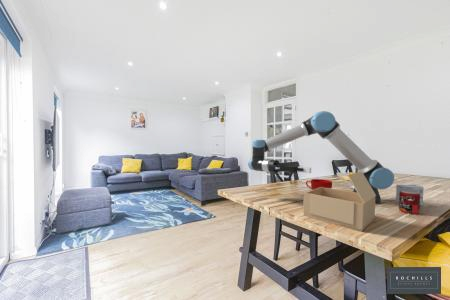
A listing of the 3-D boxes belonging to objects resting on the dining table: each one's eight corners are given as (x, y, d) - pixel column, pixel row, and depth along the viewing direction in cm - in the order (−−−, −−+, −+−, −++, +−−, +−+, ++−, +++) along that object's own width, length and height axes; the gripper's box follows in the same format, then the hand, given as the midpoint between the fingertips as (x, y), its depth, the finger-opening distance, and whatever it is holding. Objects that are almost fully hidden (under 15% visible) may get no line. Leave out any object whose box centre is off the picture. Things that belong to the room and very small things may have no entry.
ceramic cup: (310, 191, 151) (310, 177, 150) (335, 196, 138) (335, 181, 138) (301, 194, 142) (301, 179, 142) (327, 199, 129) (327, 183, 129)
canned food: (394, 209, 110) (395, 189, 110) (408, 209, 111) (409, 189, 111) (408, 214, 103) (409, 192, 102) (423, 214, 103) (424, 192, 103)
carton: (302, 215, 99) (302, 192, 99) (320, 206, 114) (321, 186, 113) (361, 232, 81) (362, 204, 81) (374, 219, 96) (375, 195, 95)
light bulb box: (414, 202, 126) (414, 184, 126) (423, 205, 120) (424, 186, 119) (395, 201, 127) (395, 183, 127) (403, 204, 121) (404, 186, 120)
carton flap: (347, 175, 86) (348, 174, 85) (360, 171, 99) (361, 171, 99) (363, 203, 82) (364, 203, 81) (375, 195, 95) (376, 195, 94)
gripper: (277, 171, 127) (315, 176, 110) (264, 173, 119) (304, 179, 101) (277, 159, 127) (316, 162, 110) (264, 160, 118) (304, 163, 101)
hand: (310, 170), depth 106 cm, fingers closed
